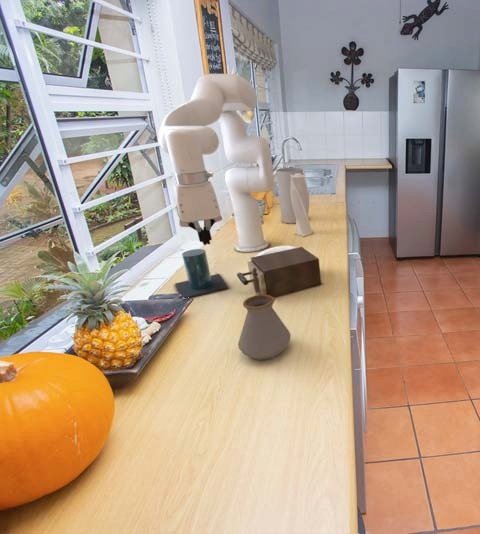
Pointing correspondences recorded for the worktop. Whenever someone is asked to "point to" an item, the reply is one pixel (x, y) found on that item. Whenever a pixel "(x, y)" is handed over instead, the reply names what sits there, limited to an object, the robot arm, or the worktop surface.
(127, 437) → the worktop surface
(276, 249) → the banana
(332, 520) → the worktop surface
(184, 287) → the mat
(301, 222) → the skyscraper
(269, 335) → the turkish coffee pot
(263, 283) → the drawer
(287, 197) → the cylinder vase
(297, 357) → the worktop surface
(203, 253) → the teal blue cylinder
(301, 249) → the cabinet
